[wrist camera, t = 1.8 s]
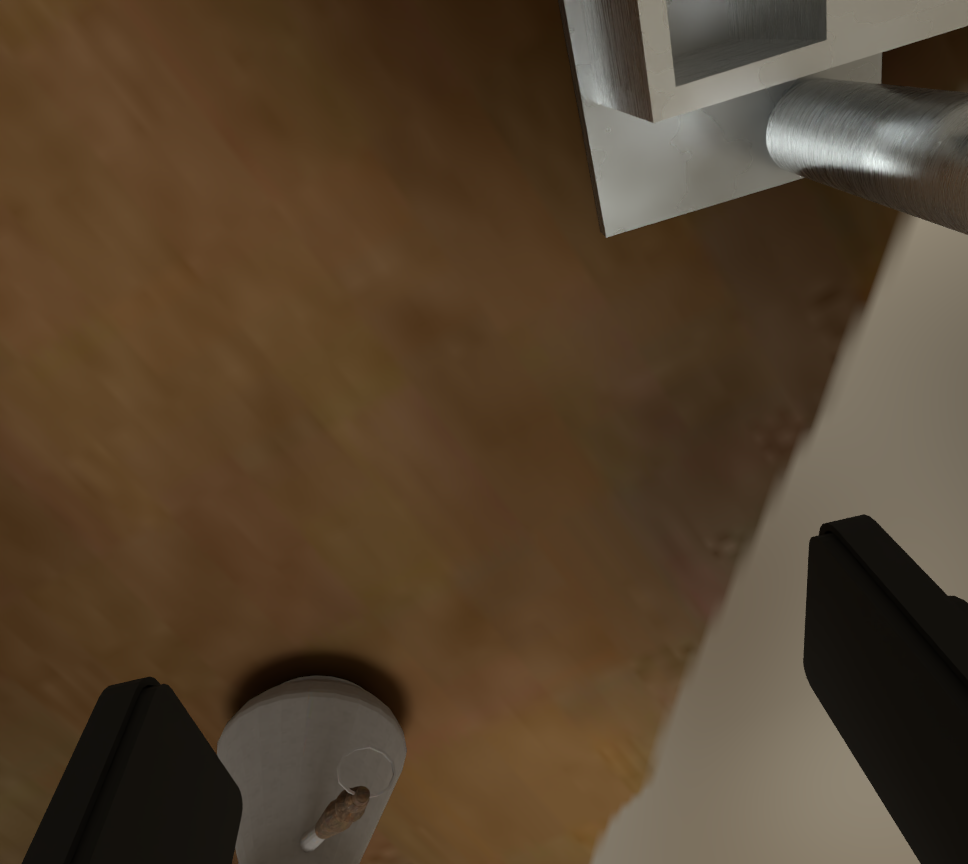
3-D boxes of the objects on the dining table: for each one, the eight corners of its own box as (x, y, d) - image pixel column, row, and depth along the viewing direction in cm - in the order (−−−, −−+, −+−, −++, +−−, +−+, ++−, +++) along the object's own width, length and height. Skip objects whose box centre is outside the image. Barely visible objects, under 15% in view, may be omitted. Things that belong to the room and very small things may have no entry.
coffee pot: (381, 778, 49) (372, 1045, 36) (214, 758, 46) (139, 1042, 33) (478, 553, 39) (514, 807, 26) (275, 511, 36) (204, 773, 23)
